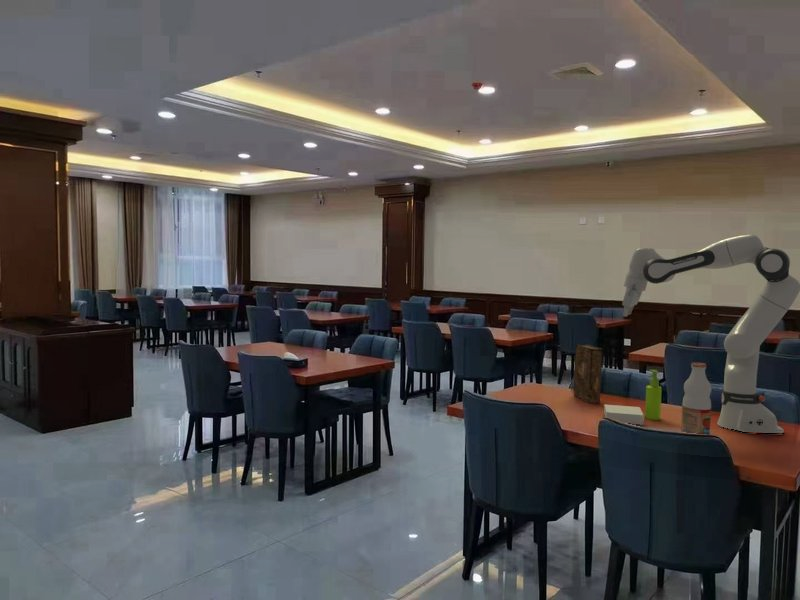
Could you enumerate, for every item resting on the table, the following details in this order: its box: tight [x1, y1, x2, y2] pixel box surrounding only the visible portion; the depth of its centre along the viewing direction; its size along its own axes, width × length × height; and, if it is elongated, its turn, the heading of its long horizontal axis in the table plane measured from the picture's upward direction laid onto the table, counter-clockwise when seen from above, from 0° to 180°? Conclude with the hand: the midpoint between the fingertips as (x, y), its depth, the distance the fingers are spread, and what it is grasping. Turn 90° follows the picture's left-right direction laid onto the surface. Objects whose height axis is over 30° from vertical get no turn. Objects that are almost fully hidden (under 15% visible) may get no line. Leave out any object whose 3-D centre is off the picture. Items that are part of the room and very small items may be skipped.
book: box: [573, 344, 603, 404], centre depth 278 cm, size 16×6×25 cm, turn 10°
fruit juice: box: [680, 361, 712, 435], centre depth 217 cm, size 9×9×28 cm
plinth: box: [603, 403, 645, 426], centre depth 244 cm, size 14×14×4 cm
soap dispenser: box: [644, 369, 663, 421], centre depth 247 cm, size 6×7×20 cm
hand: (626, 315), depth 257 cm, fingers open, 8 cm apart
